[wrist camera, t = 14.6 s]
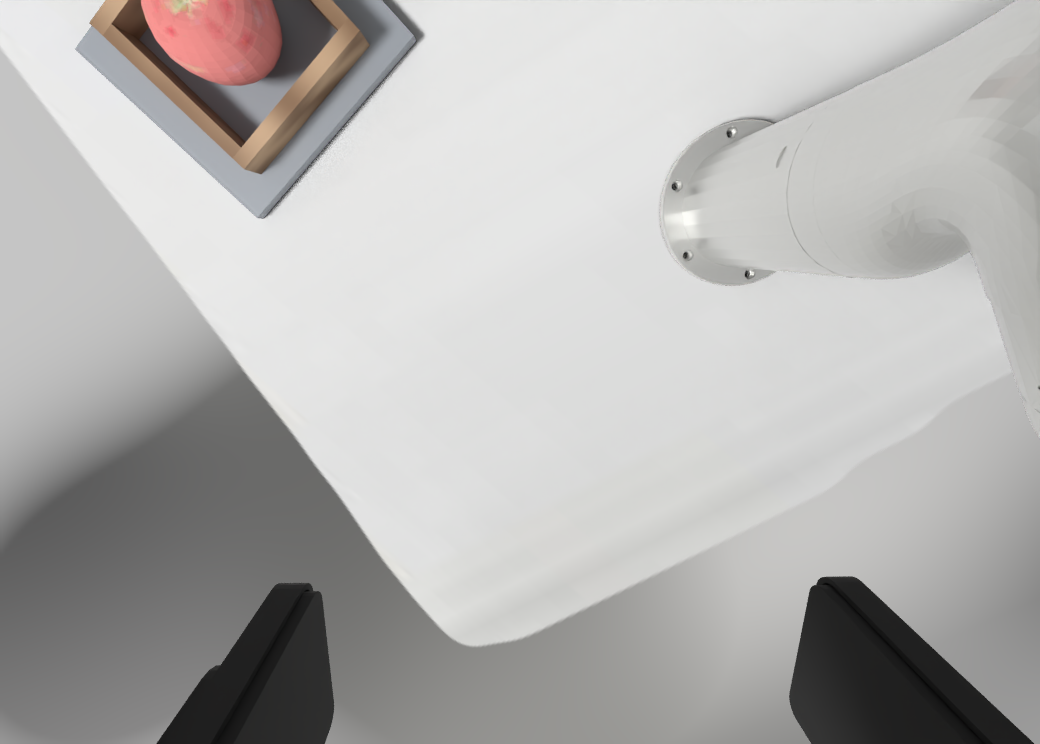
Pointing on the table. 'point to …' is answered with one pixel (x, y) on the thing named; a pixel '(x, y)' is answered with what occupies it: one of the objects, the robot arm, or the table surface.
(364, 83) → the tray
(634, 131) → the table surface
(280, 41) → the apple
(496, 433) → the table surface
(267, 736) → the robot arm
